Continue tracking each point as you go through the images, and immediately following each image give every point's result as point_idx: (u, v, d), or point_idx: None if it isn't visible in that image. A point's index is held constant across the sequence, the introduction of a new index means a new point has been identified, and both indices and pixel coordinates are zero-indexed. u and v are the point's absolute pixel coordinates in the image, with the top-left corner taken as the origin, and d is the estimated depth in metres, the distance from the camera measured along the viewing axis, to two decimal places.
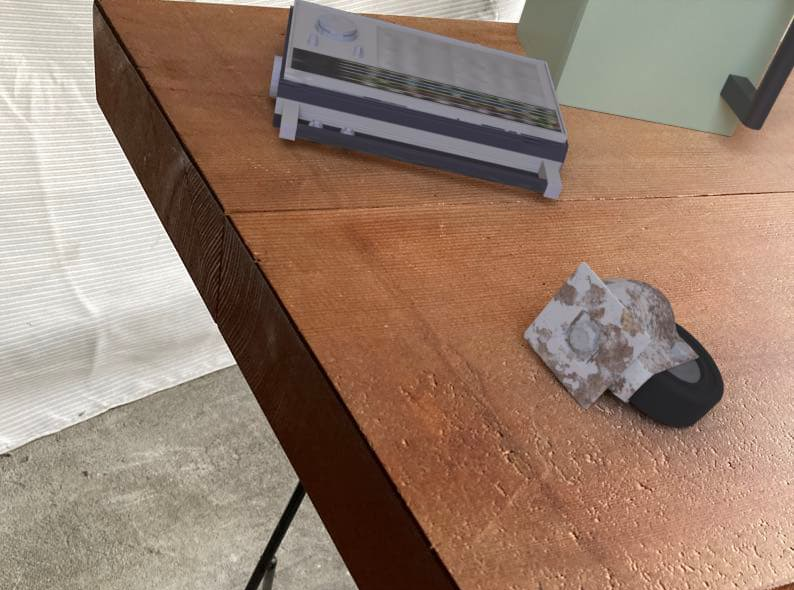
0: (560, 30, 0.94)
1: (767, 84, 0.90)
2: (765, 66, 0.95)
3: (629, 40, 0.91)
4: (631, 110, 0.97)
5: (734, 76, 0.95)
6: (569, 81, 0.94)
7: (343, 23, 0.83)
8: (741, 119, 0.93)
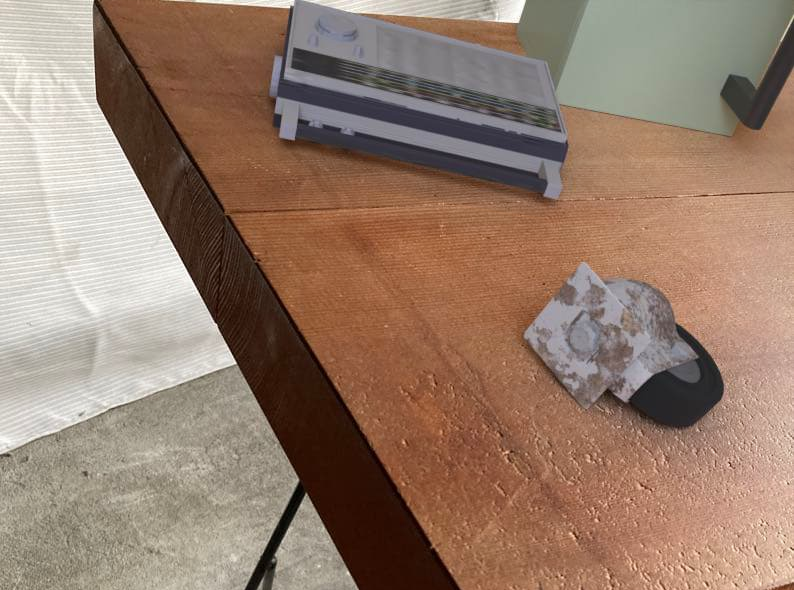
0: (560, 30, 0.94)
1: (767, 84, 0.90)
2: (765, 66, 0.95)
3: (629, 40, 0.91)
4: (631, 110, 0.97)
5: (734, 76, 0.95)
6: (569, 81, 0.94)
7: (343, 23, 0.83)
8: (741, 119, 0.93)
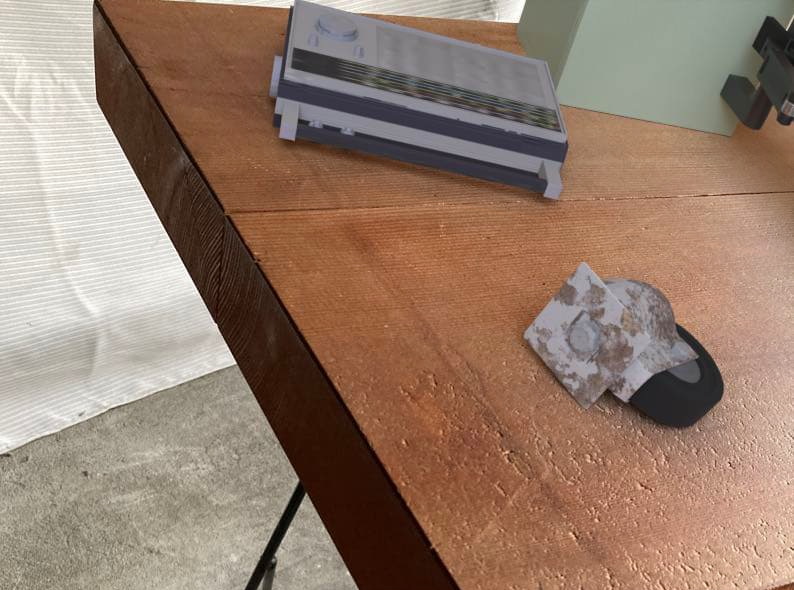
0: (560, 30, 0.94)
1: None
2: None
3: (629, 40, 0.91)
4: (631, 110, 0.97)
5: (734, 76, 0.95)
6: (569, 81, 0.94)
7: (343, 23, 0.83)
8: (741, 119, 0.93)
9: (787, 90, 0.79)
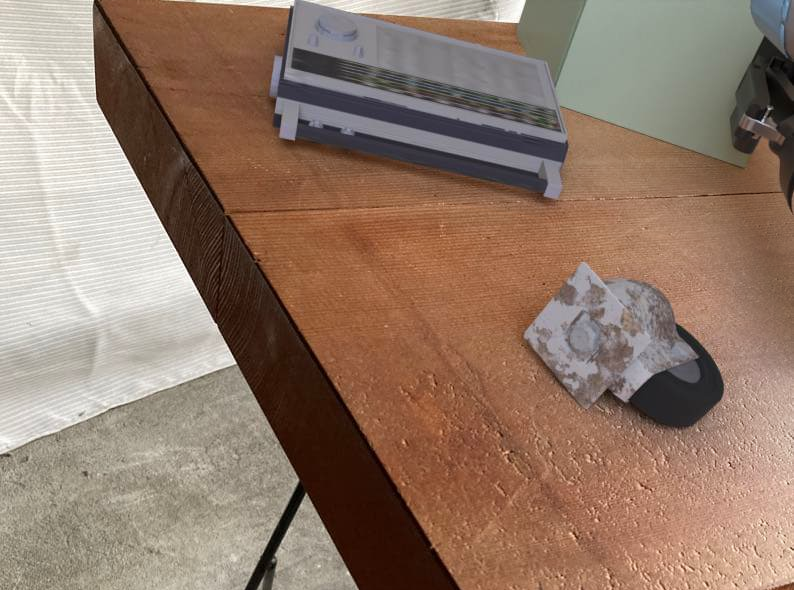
0: (560, 30, 0.94)
1: None
2: None
3: (630, 47, 0.90)
4: (633, 122, 0.95)
5: None
6: (568, 82, 0.93)
7: (343, 23, 0.83)
8: (732, 141, 0.89)
9: None
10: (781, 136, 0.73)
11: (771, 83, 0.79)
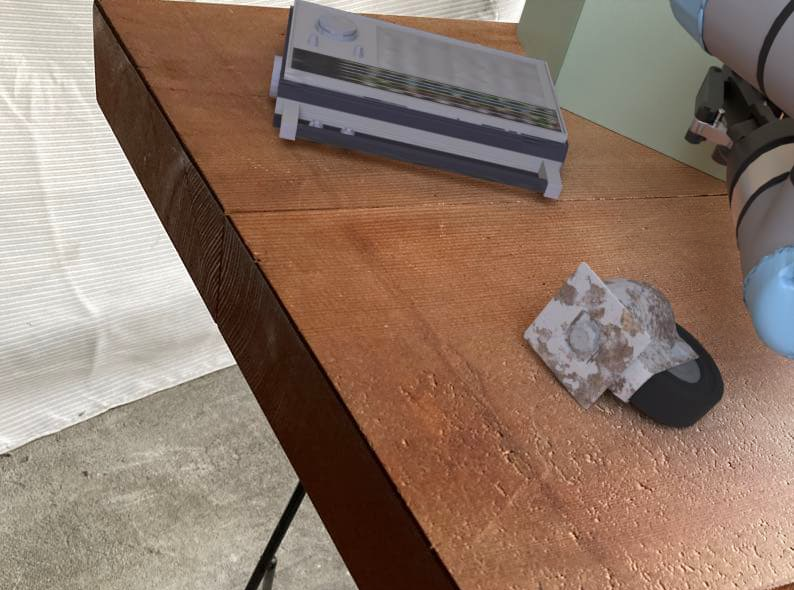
0: (560, 30, 0.94)
1: None
2: None
3: (627, 51, 0.89)
4: (629, 130, 0.93)
5: None
6: (566, 82, 0.93)
7: (343, 23, 0.83)
8: None
9: None
10: (731, 140, 0.70)
11: (732, 88, 0.76)
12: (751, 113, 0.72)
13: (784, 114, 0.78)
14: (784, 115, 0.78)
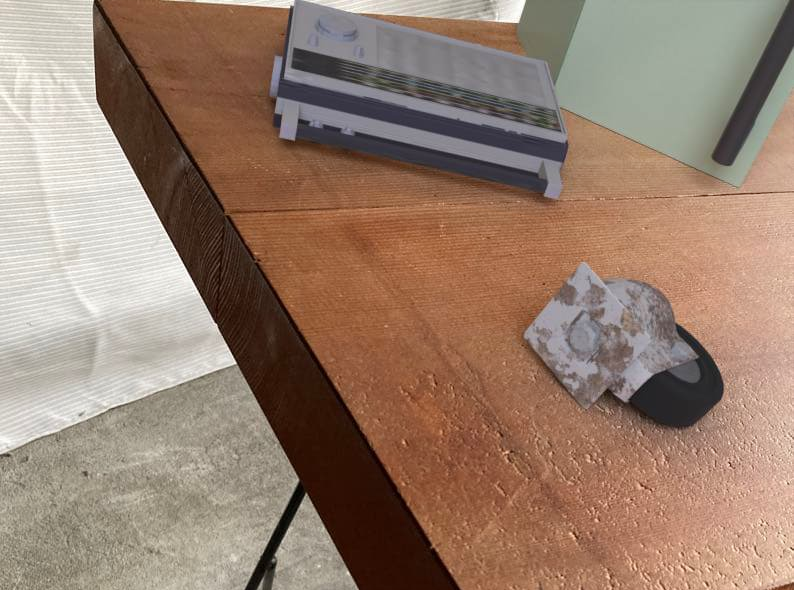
0: (560, 30, 0.94)
1: (734, 114, 0.82)
2: (776, 114, 0.87)
3: (627, 51, 0.89)
4: (629, 130, 0.93)
5: None
6: (566, 82, 0.93)
7: (343, 23, 0.83)
8: None
9: None
10: None
11: None
12: None
13: None
14: None
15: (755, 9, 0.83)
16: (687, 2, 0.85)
